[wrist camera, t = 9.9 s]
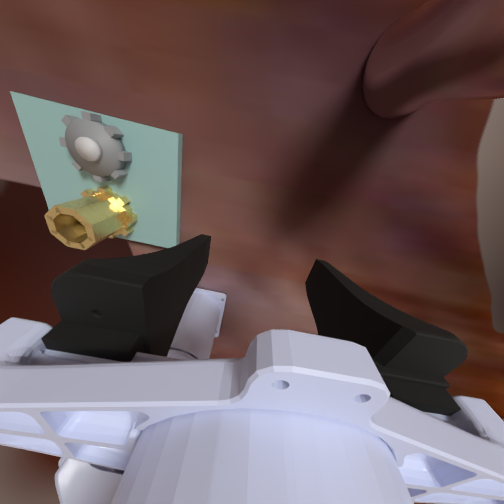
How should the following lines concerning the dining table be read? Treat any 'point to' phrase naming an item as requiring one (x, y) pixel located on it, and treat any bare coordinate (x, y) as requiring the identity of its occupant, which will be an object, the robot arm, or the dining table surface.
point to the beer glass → (437, 57)
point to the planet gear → (91, 218)
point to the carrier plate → (106, 163)
